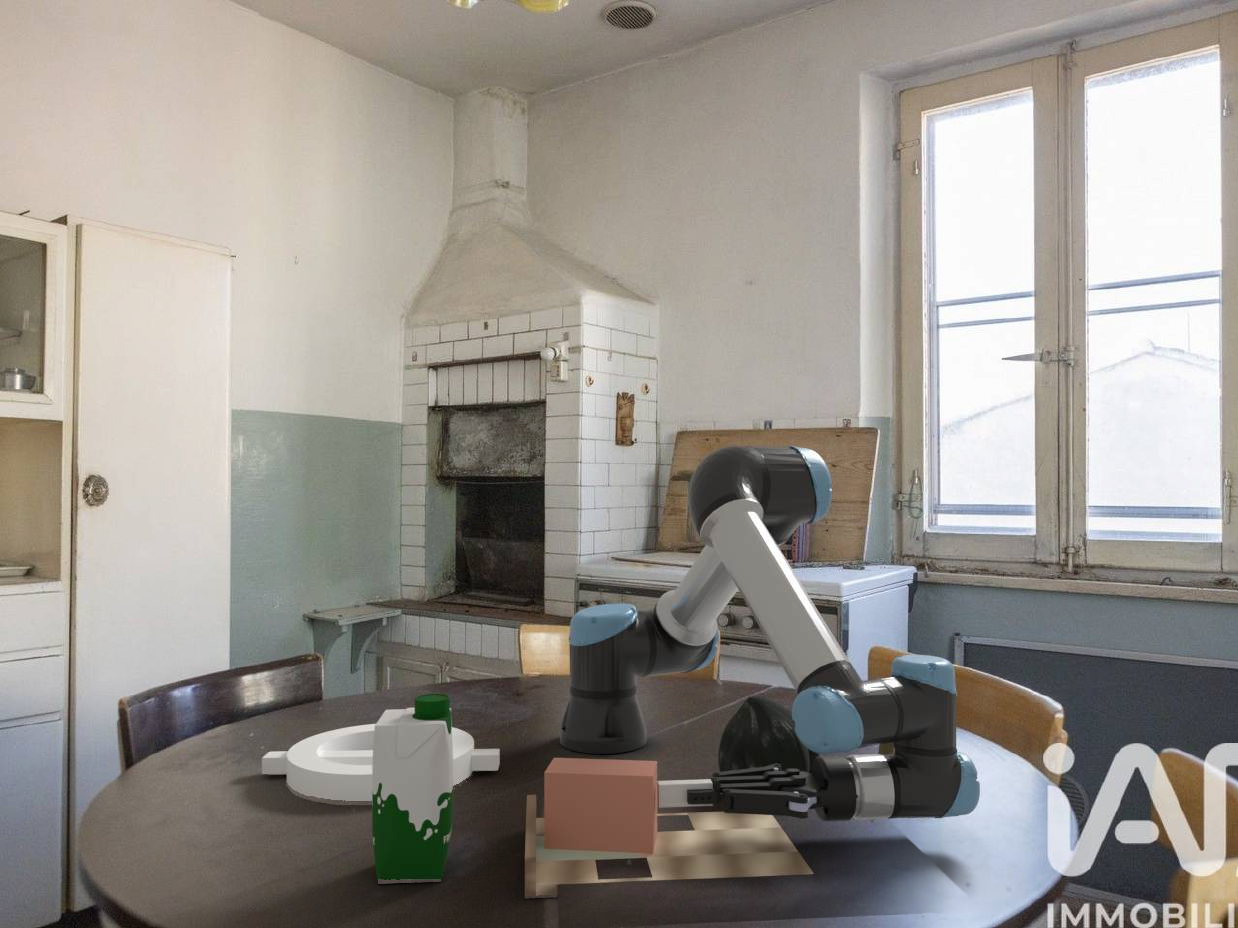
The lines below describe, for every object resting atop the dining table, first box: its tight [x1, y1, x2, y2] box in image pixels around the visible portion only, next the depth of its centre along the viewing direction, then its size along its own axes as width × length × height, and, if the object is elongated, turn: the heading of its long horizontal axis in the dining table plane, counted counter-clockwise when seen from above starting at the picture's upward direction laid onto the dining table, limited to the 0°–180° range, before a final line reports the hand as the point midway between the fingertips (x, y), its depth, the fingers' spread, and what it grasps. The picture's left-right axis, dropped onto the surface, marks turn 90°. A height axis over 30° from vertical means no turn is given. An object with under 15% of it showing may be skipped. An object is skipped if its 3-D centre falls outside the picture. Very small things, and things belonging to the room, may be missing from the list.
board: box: [524, 794, 814, 897], centre depth 111 cm, size 32×20×4 cm, turn 95°
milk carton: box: [371, 693, 454, 880], centre depth 107 cm, size 9×9×20 cm
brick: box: [543, 757, 658, 854], centre depth 112 cm, size 13×6×9 cm, turn 83°
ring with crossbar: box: [261, 723, 501, 801], centre depth 142 cm, size 28×28×5 cm
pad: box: [536, 836, 639, 862], centre depth 110 cm, size 12×8×2 cm, turn 95°
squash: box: [717, 695, 820, 772], centre depth 133 cm, size 14×15×15 cm
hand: (658, 793), depth 111 cm, fingers closed
